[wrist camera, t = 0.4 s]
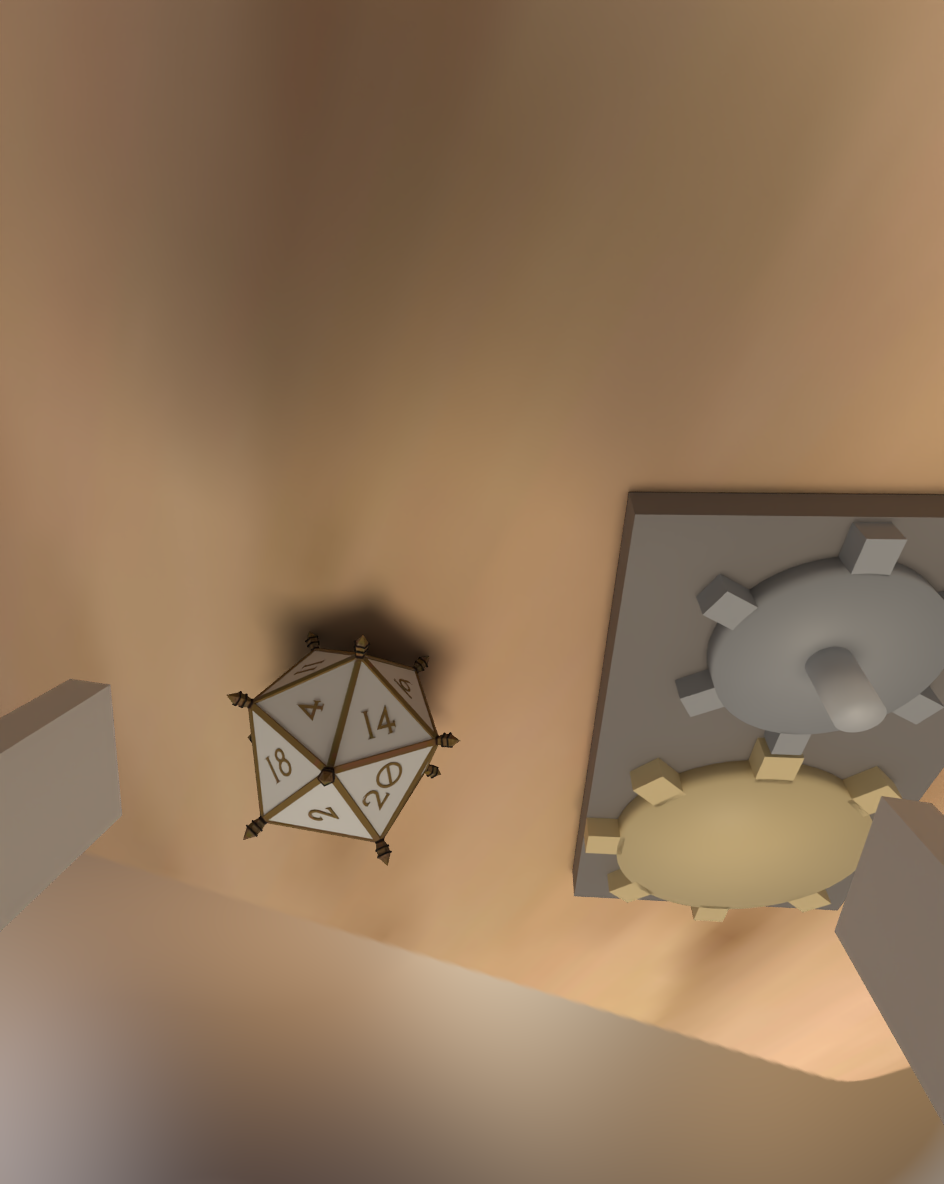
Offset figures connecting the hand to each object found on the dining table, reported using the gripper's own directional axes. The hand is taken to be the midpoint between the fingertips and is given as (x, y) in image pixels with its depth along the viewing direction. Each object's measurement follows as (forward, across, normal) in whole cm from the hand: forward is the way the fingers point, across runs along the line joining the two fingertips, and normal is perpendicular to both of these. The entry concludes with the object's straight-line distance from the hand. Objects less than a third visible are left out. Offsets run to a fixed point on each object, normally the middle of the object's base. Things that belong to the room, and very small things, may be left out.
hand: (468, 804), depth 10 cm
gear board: (+18, +12, -7) cm, 23 cm away
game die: (+16, -6, -5) cm, 18 cm away
